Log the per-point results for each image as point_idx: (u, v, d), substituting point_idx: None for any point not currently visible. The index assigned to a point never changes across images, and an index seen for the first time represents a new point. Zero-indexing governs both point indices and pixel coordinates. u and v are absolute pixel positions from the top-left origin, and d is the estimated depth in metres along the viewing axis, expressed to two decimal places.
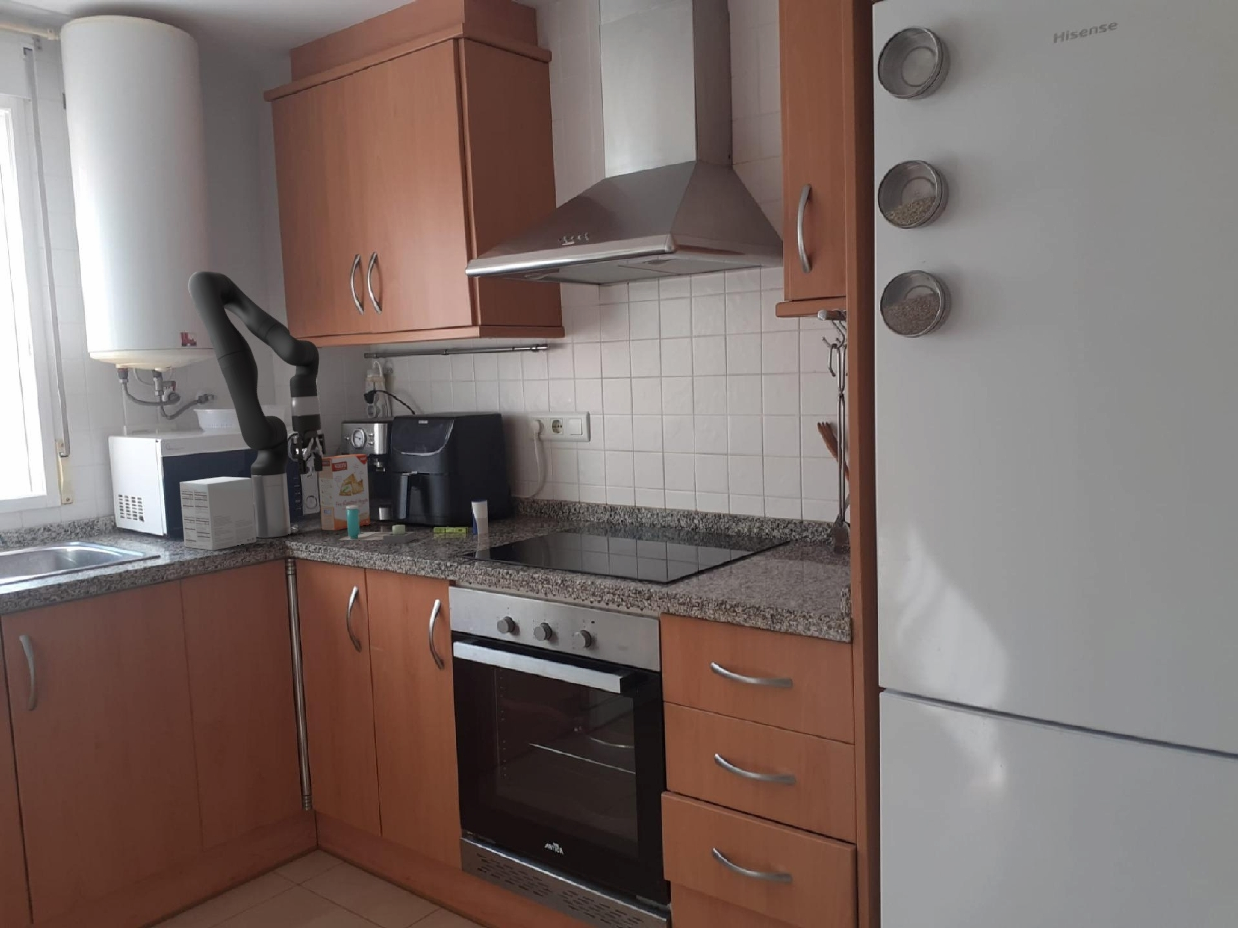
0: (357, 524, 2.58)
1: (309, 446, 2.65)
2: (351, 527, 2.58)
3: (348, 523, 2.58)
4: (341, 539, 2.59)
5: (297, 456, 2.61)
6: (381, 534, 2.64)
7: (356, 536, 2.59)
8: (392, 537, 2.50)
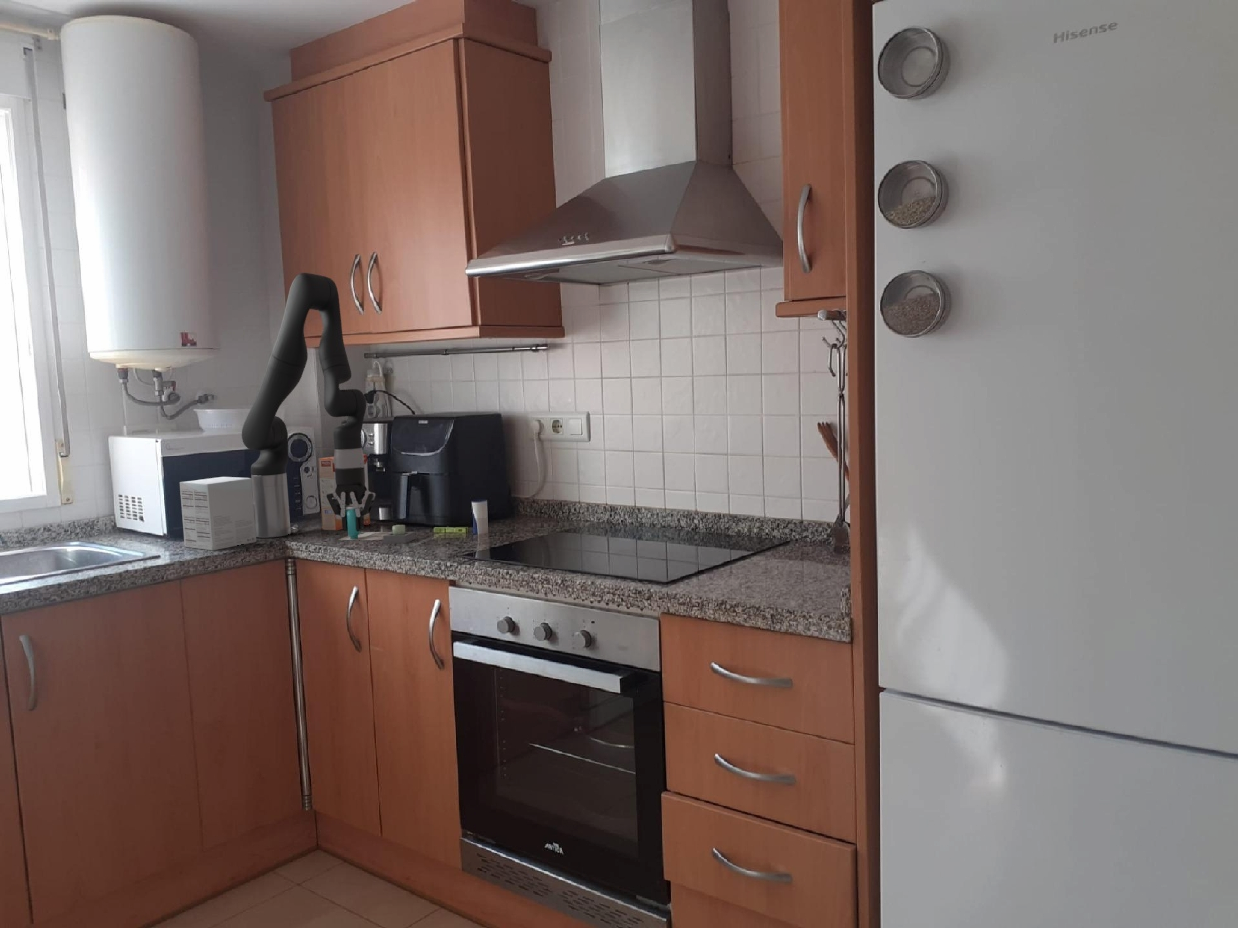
0: None
1: None
2: (351, 527, 2.58)
3: (348, 523, 2.58)
4: (341, 539, 2.59)
5: (368, 512, 2.58)
6: (381, 534, 2.64)
7: (356, 536, 2.59)
8: (392, 537, 2.50)
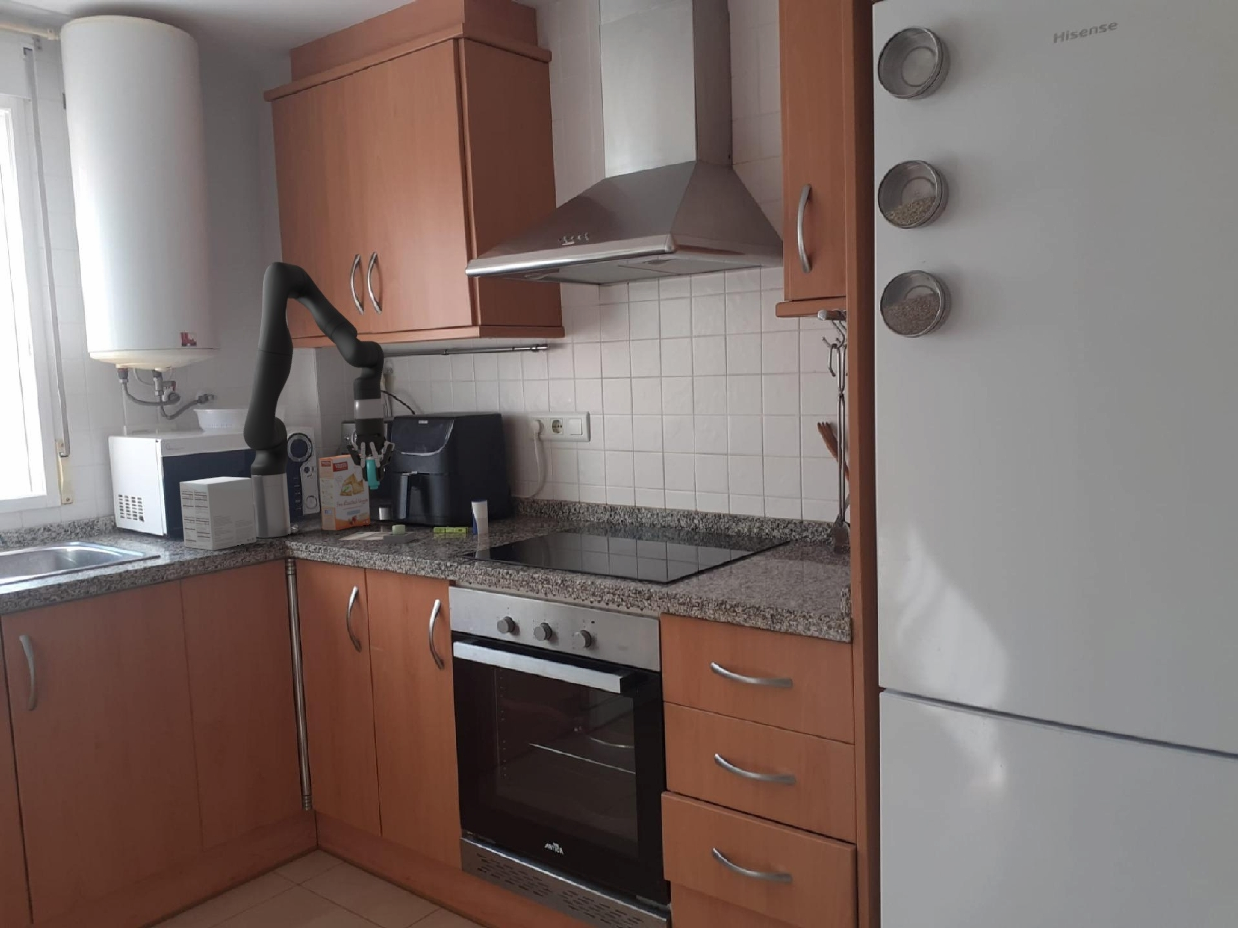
0: None
1: None
2: (371, 477, 2.61)
3: (368, 473, 2.61)
4: (341, 539, 2.59)
5: (388, 462, 2.61)
6: (381, 534, 2.64)
7: (376, 486, 2.62)
8: (392, 537, 2.50)
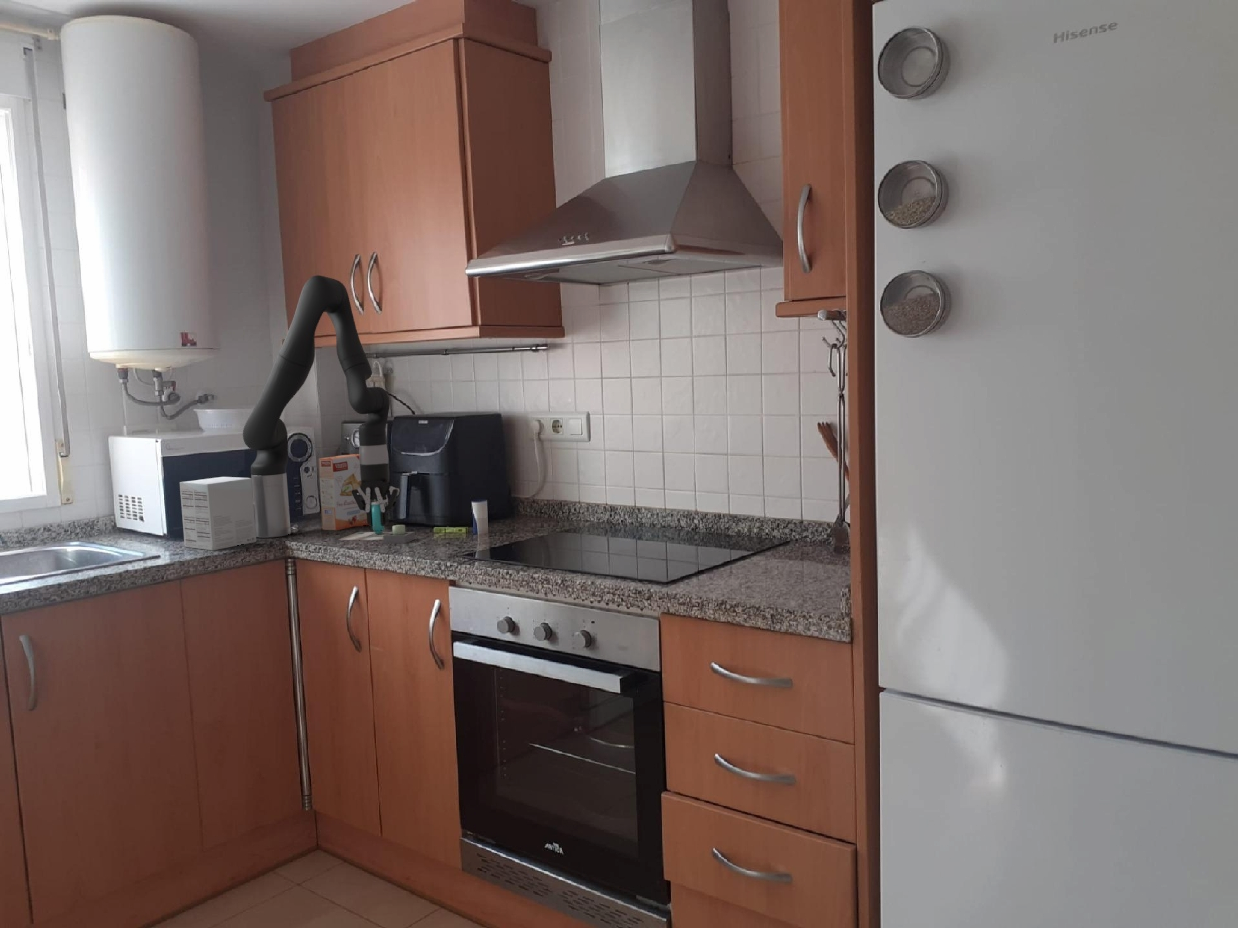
0: None
1: None
2: (376, 522, 2.63)
3: (373, 518, 2.63)
4: (341, 539, 2.59)
5: (393, 507, 2.63)
6: (381, 534, 2.64)
7: (381, 531, 2.64)
8: (392, 537, 2.50)
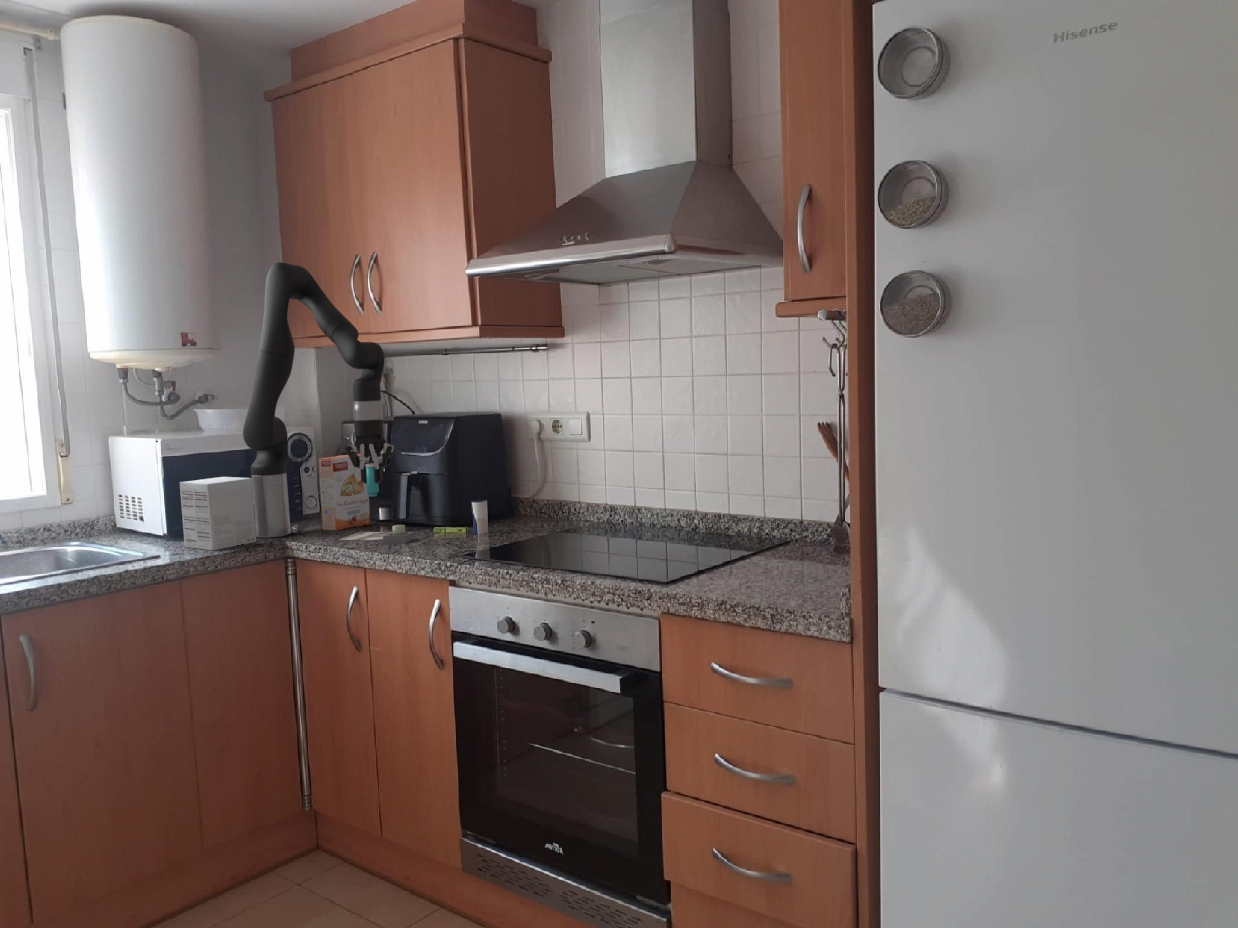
0: None
1: None
2: (370, 485, 2.60)
3: (367, 481, 2.60)
4: (341, 539, 2.59)
5: (387, 464, 2.60)
6: (381, 534, 2.64)
7: (375, 494, 2.61)
8: (392, 537, 2.50)
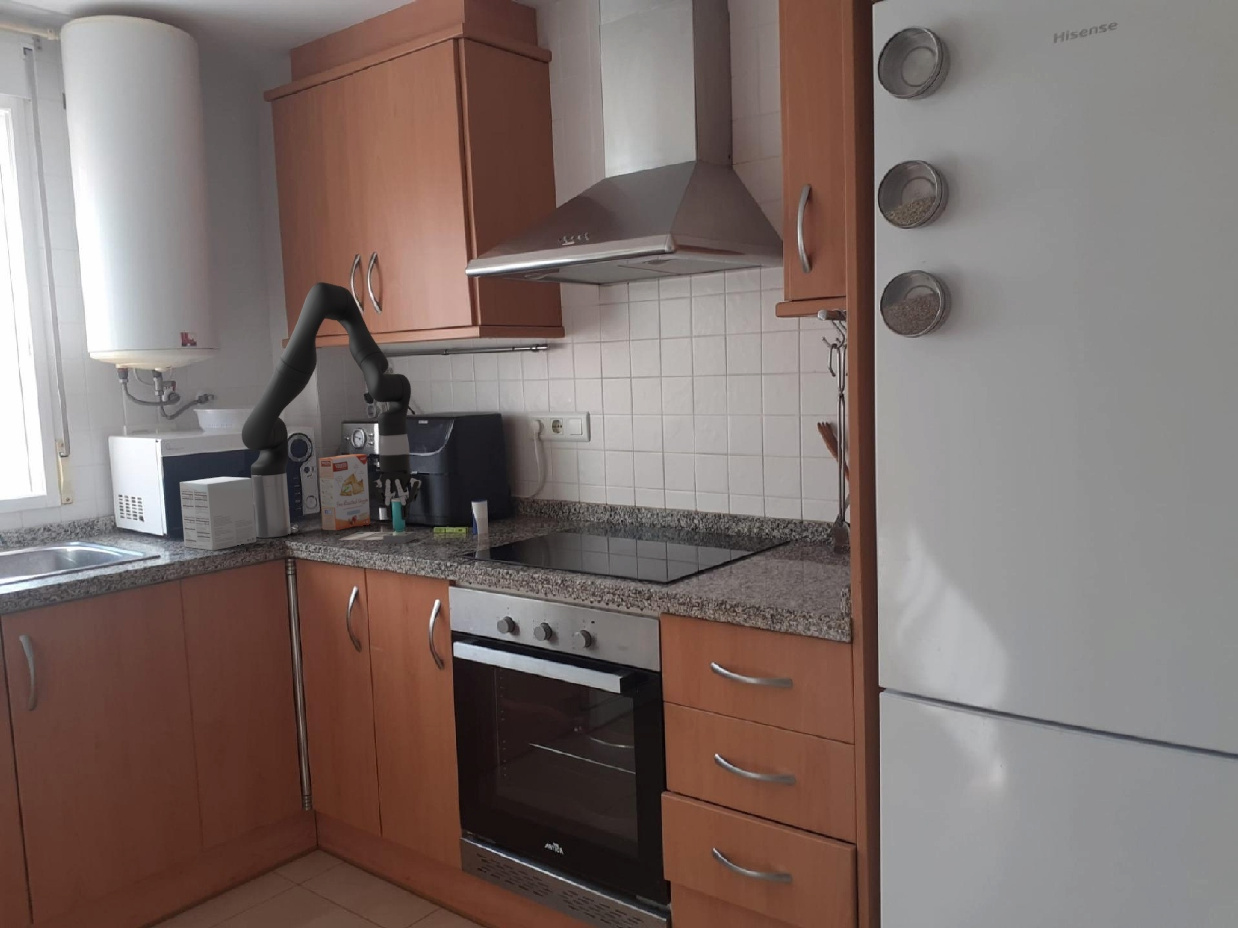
0: None
1: None
2: (397, 520, 2.51)
3: (393, 516, 2.51)
4: (341, 539, 2.59)
5: (414, 500, 2.51)
6: (381, 534, 2.64)
7: (401, 529, 2.52)
8: (392, 537, 2.50)
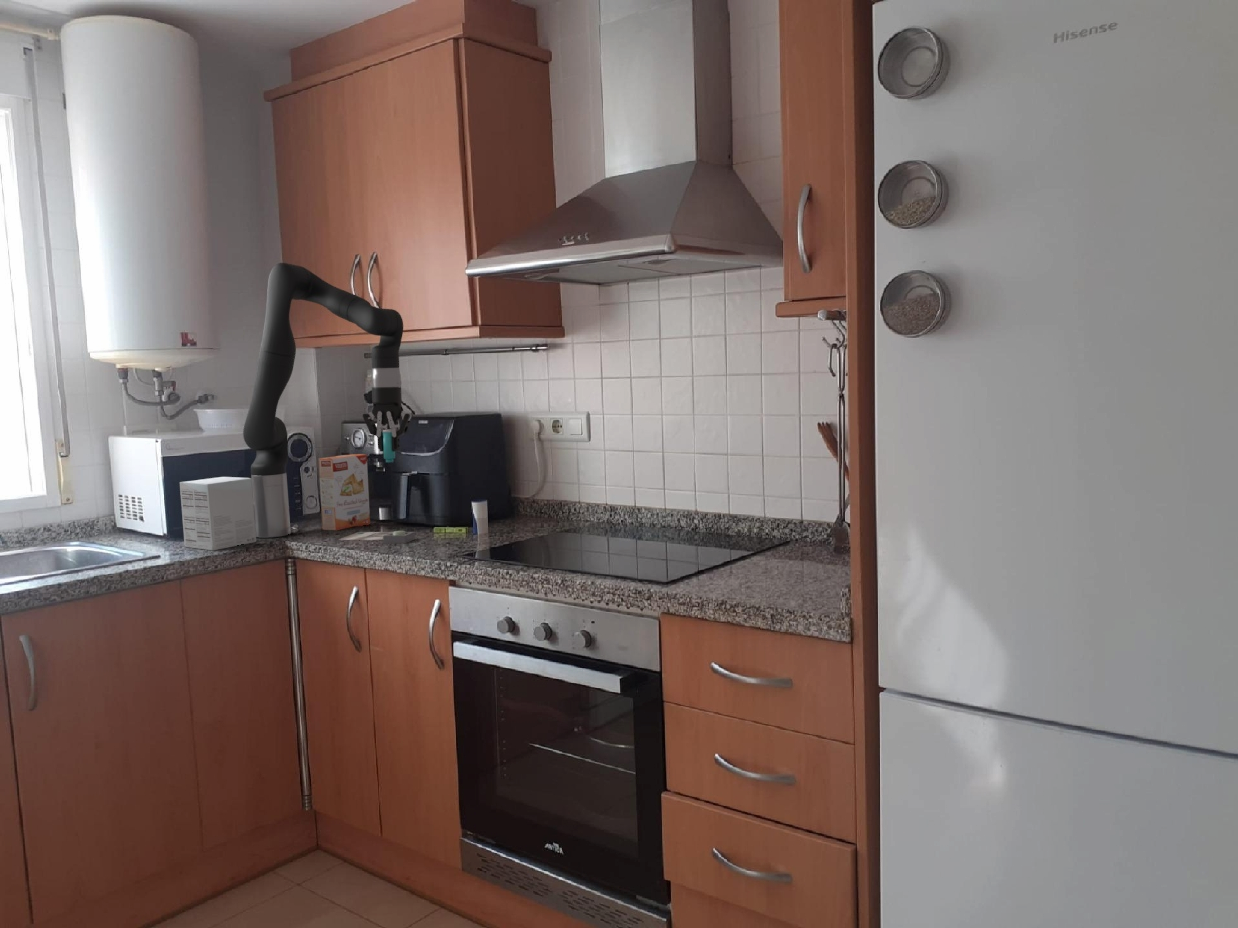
0: None
1: None
2: (387, 450, 2.57)
3: (384, 446, 2.58)
4: (341, 539, 2.59)
5: (404, 433, 2.58)
6: (381, 534, 2.64)
7: (392, 460, 2.59)
8: (392, 537, 2.50)
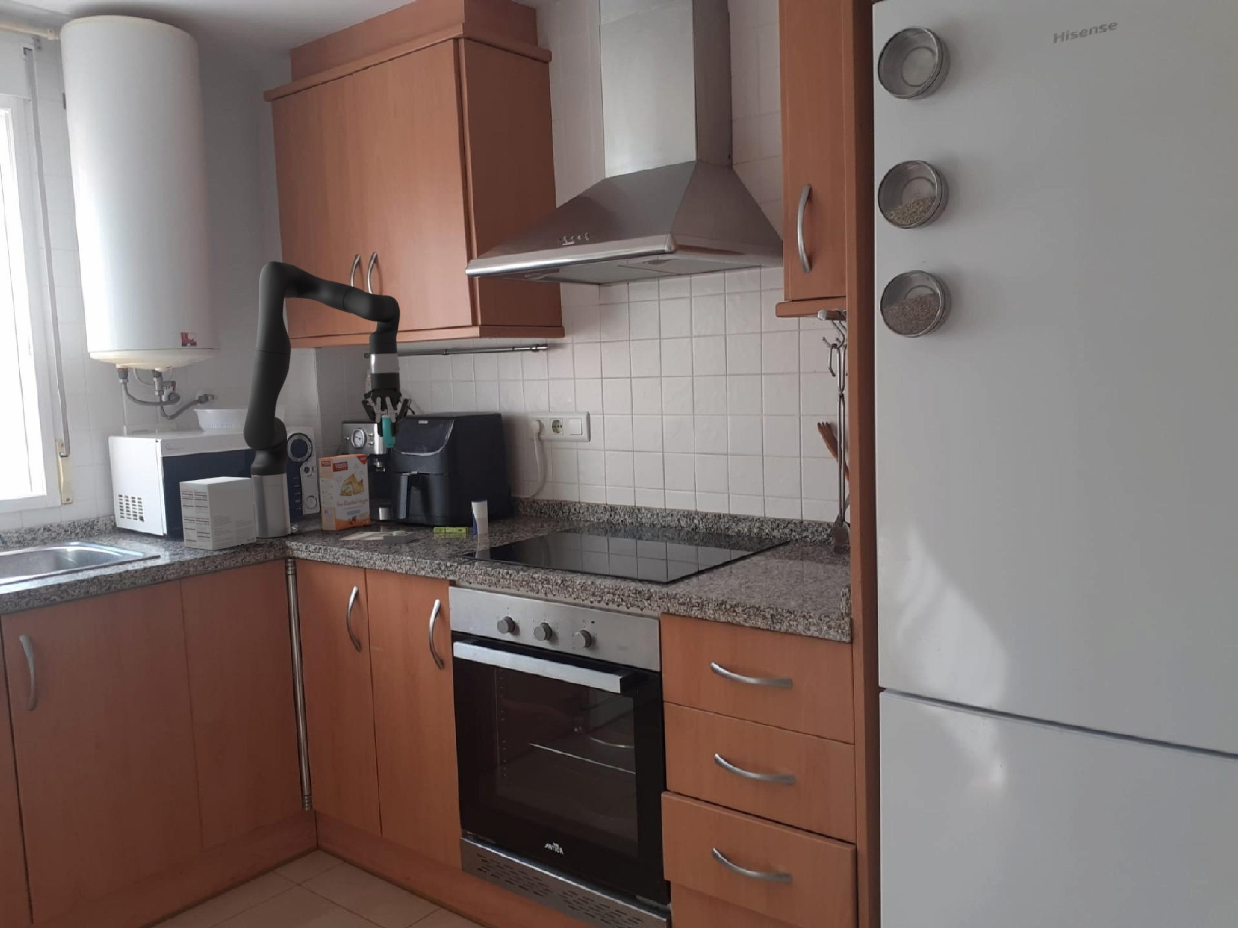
0: None
1: None
2: (387, 436, 2.59)
3: (384, 432, 2.59)
4: (341, 539, 2.59)
5: (403, 418, 2.59)
6: (381, 534, 2.64)
7: (391, 445, 2.60)
8: (392, 537, 2.50)
